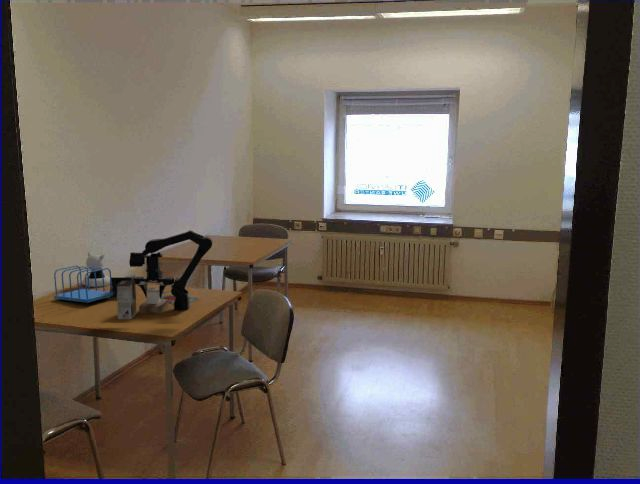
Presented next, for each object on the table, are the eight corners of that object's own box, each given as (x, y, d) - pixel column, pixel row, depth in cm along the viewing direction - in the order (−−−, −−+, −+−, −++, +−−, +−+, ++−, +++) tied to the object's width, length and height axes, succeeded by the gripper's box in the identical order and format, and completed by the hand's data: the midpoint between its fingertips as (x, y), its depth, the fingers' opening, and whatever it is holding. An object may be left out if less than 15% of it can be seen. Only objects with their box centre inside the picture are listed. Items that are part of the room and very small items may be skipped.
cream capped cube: (161, 301, 272) (160, 287, 272) (157, 304, 267) (157, 290, 266) (150, 301, 273) (149, 287, 272) (146, 303, 267) (146, 290, 266)
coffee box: (122, 313, 262) (121, 280, 260) (137, 313, 263) (135, 280, 261) (117, 319, 253) (115, 284, 251) (131, 319, 254) (130, 284, 252)
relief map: (200, 300, 291) (200, 296, 291) (177, 306, 279) (177, 302, 279) (169, 293, 306) (169, 289, 306) (146, 298, 294) (145, 295, 294)
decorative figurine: (115, 283, 327) (114, 249, 324) (102, 288, 313) (101, 253, 310) (91, 282, 329) (90, 248, 326) (77, 287, 315) (75, 252, 312)
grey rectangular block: (109, 297, 290) (109, 277, 292) (110, 297, 294) (110, 277, 295) (131, 297, 293) (131, 277, 294) (132, 297, 296) (132, 277, 297)
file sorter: (53, 299, 289) (51, 269, 287) (82, 292, 305) (79, 264, 303) (87, 303, 278) (84, 272, 276) (115, 295, 293) (112, 266, 291)
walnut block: (168, 306, 277) (168, 299, 276) (160, 313, 264) (160, 306, 263) (148, 305, 277) (148, 299, 276) (139, 313, 264) (139, 305, 264)
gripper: (177, 263, 275) (177, 294, 277) (139, 263, 276) (140, 294, 278) (170, 267, 264) (171, 300, 266) (131, 267, 265) (132, 299, 267)
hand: (153, 298), depth 270 cm, fingers open, 6 cm apart
